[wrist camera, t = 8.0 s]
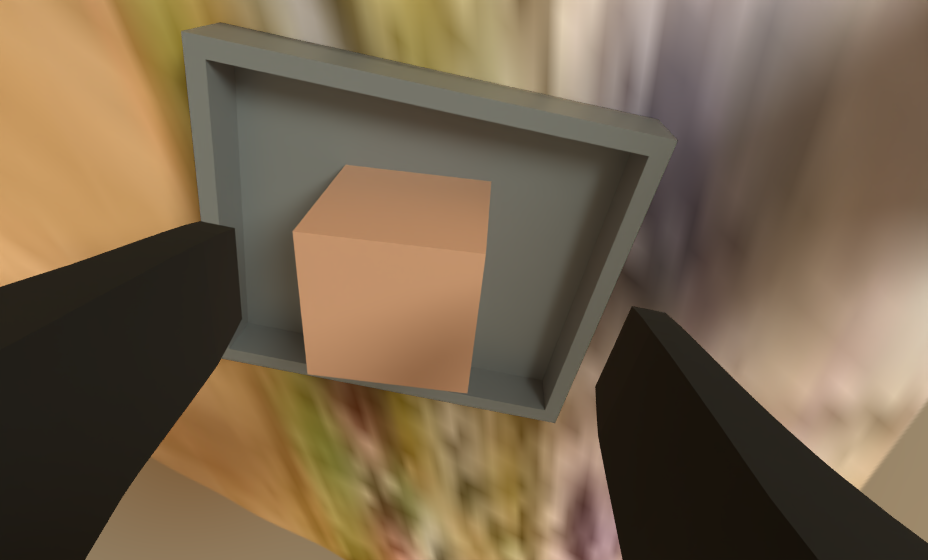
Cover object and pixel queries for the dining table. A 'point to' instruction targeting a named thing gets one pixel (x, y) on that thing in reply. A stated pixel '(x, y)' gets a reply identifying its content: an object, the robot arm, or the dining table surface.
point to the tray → (428, 152)
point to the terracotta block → (393, 277)
